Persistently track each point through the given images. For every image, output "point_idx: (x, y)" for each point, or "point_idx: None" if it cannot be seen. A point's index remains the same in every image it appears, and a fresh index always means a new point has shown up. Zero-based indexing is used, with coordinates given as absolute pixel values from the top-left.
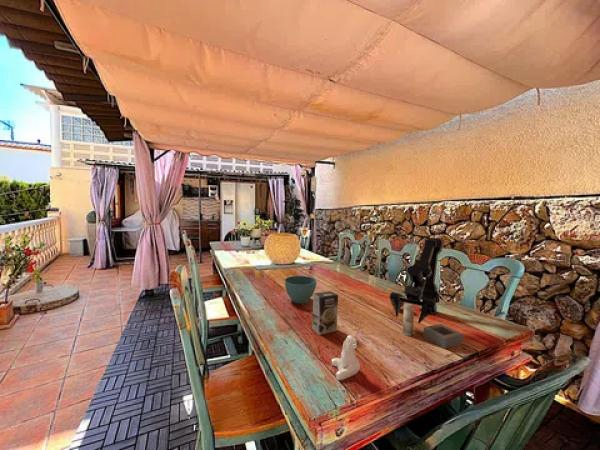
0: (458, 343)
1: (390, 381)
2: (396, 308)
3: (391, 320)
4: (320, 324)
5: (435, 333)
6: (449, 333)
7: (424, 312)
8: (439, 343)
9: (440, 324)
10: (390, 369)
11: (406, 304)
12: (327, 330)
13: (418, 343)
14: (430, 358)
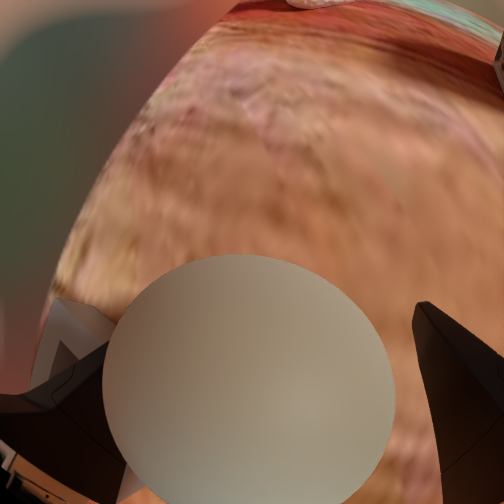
0: None
1: (219, 28)
2: (483, 352)
3: None
4: (501, 39)
5: (90, 333)
6: None
7: (46, 382)
8: (104, 320)
9: None
10: (235, 44)
11: (322, 425)
12: (501, 73)
13: None
14: (135, 171)
